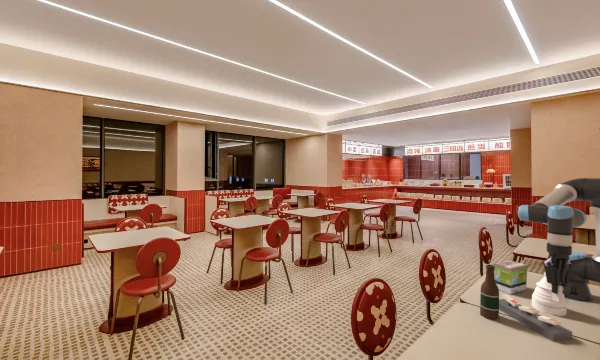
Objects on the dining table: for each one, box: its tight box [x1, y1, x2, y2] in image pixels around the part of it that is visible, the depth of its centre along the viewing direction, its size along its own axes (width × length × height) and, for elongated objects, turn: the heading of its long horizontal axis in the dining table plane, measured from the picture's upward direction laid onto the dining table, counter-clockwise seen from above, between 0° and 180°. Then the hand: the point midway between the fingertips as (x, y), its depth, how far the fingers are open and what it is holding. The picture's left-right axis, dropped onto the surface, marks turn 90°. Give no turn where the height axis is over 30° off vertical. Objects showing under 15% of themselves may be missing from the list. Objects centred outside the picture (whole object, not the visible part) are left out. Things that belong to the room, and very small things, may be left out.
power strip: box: [499, 298, 573, 342], centre depth 127 cm, size 29×9×4 cm, turn 9°
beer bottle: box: [479, 264, 500, 321], centre depth 131 cm, size 8×8×24 cm
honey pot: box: [531, 272, 568, 317], centre depth 137 cm, size 13×13×18 cm
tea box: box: [493, 259, 528, 295], centre depth 160 cm, size 15×10×15 cm
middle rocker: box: [518, 305, 540, 314], centre depth 127 cm, size 7×3×1 cm, turn 9°
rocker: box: [501, 293, 521, 307], centre depth 136 cm, size 7×3×1 cm, turn 9°
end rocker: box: [538, 315, 562, 325], centre depth 118 cm, size 7×3×1 cm, turn 9°
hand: (556, 300), depth 114 cm, fingers closed
